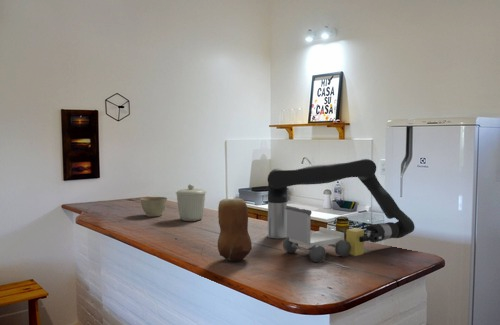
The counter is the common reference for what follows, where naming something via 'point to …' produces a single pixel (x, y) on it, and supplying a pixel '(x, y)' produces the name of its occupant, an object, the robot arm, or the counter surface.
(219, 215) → the butternut squash
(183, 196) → the canister
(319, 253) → the trolley
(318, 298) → the counter surface
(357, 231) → the yellow rectangular block
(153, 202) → the planter bowl
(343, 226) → the condiment
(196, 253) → the counter surface
